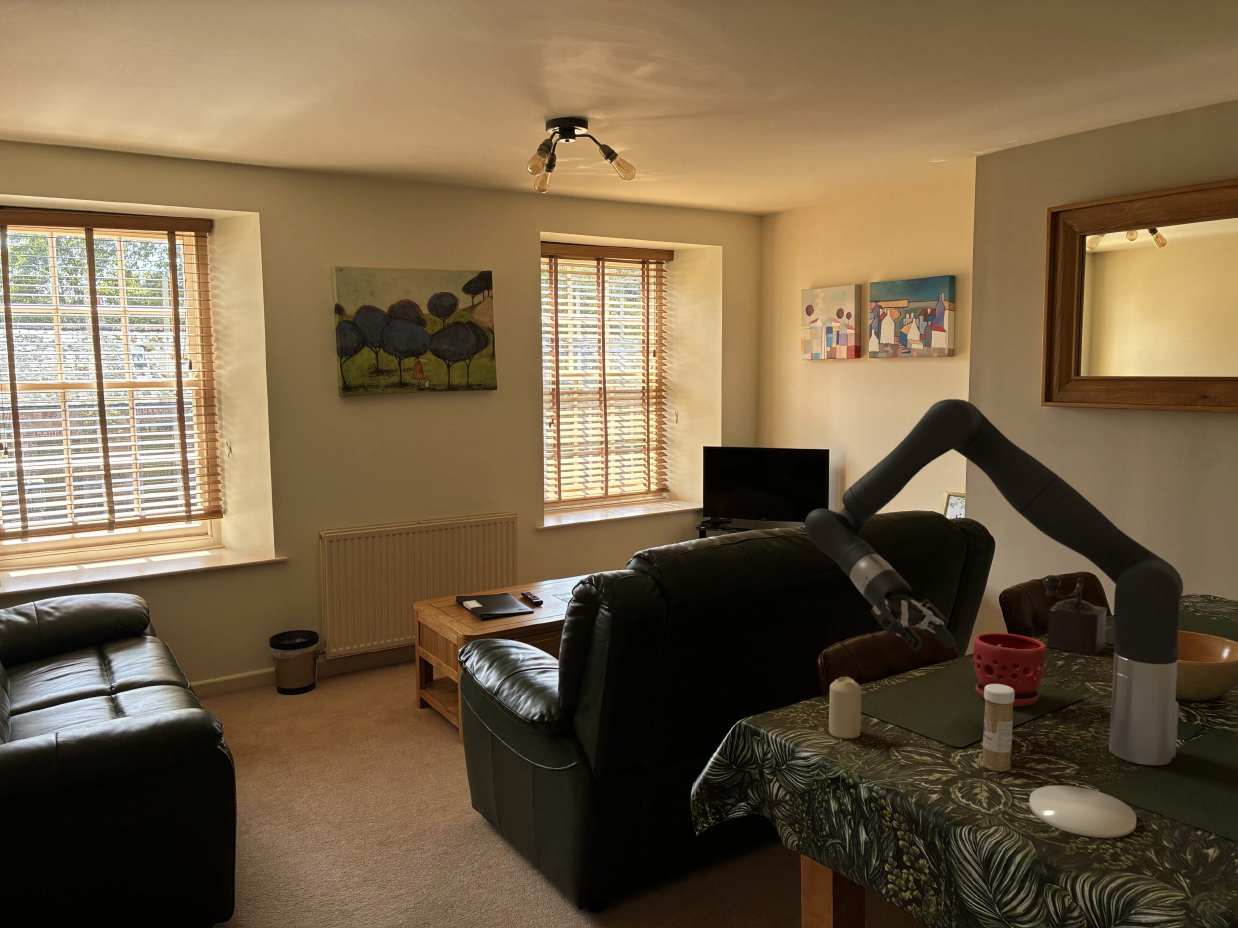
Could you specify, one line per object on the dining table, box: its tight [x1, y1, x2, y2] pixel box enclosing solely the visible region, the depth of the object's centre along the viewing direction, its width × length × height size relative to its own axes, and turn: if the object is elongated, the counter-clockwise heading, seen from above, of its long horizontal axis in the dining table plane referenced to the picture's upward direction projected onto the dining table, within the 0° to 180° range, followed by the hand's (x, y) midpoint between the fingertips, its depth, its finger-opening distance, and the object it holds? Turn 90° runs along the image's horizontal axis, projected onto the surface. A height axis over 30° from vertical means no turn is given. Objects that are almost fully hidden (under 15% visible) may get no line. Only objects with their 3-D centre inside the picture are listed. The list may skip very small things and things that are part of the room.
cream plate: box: [1028, 784, 1137, 839], centre depth 134 cm, size 14×14×1 cm
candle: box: [828, 676, 862, 740], centre depth 164 cm, size 6×6×10 cm
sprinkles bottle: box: [981, 684, 1015, 772], centre depth 149 cm, size 5×5×14 cm
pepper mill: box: [1042, 574, 1108, 657], centre depth 212 cm, size 16×11×18 cm
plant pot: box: [972, 632, 1047, 707], centre depth 181 cm, size 13×13×12 cm
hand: (936, 645), depth 159 cm, fingers open, 8 cm apart
